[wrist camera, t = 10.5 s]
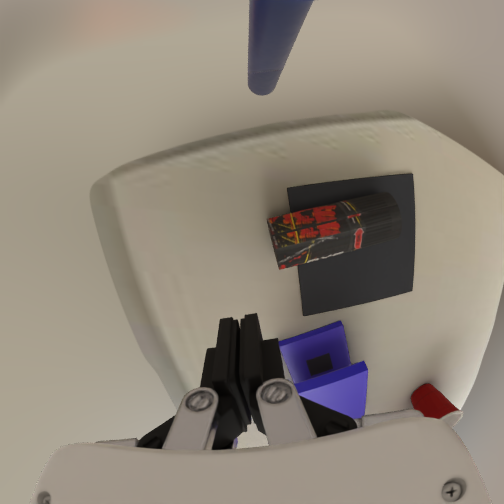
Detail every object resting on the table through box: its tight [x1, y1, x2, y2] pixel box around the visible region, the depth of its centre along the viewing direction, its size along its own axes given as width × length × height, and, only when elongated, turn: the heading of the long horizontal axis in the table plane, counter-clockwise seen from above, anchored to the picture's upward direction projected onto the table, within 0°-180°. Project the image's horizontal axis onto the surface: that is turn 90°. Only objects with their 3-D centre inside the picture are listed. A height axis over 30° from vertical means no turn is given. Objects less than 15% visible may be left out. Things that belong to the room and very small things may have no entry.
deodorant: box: [267, 192, 402, 270], centre depth 31 cm, size 6×6×15 cm
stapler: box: [279, 320, 368, 419], centre depth 39 cm, size 12×28×10 cm, turn 20°
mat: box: [287, 174, 415, 316], centre depth 35 cm, size 18×18×1 cm
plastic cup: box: [411, 383, 463, 428], centre depth 41 cm, size 11×11×12 cm
